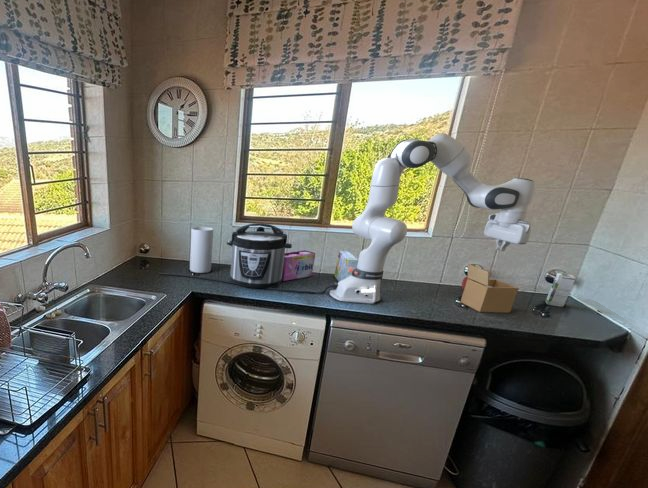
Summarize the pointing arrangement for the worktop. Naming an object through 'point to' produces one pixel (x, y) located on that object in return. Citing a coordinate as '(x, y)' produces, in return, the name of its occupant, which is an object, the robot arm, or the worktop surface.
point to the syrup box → (560, 289)
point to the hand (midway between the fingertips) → (500, 250)
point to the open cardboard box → (489, 296)
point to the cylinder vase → (201, 249)
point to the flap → (478, 275)
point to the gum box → (298, 265)
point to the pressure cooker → (257, 256)
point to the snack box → (345, 265)
